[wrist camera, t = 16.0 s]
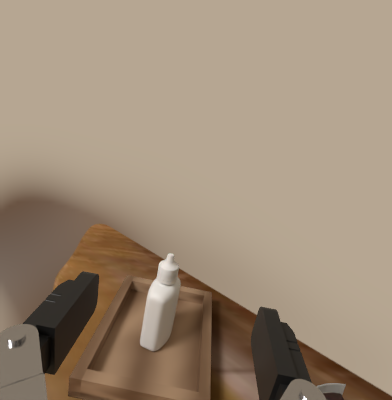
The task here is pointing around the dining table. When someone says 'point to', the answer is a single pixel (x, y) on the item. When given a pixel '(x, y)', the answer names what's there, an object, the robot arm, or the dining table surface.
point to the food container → (332, 391)
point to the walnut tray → (147, 351)
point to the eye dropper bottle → (161, 305)
